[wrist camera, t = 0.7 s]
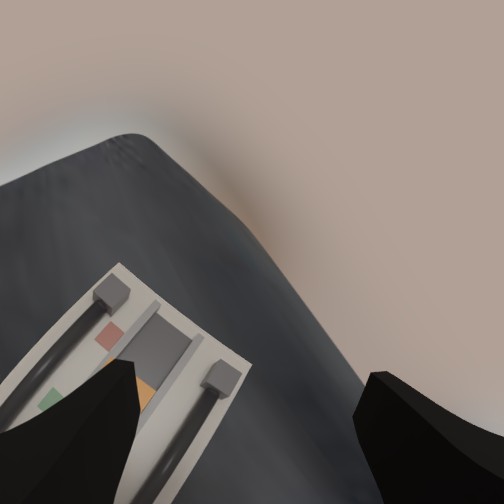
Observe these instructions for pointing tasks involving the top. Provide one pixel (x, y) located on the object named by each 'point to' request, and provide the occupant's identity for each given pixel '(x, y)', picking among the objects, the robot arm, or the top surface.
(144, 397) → the breaker lever
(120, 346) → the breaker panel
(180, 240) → the top surface
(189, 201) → the top surface
